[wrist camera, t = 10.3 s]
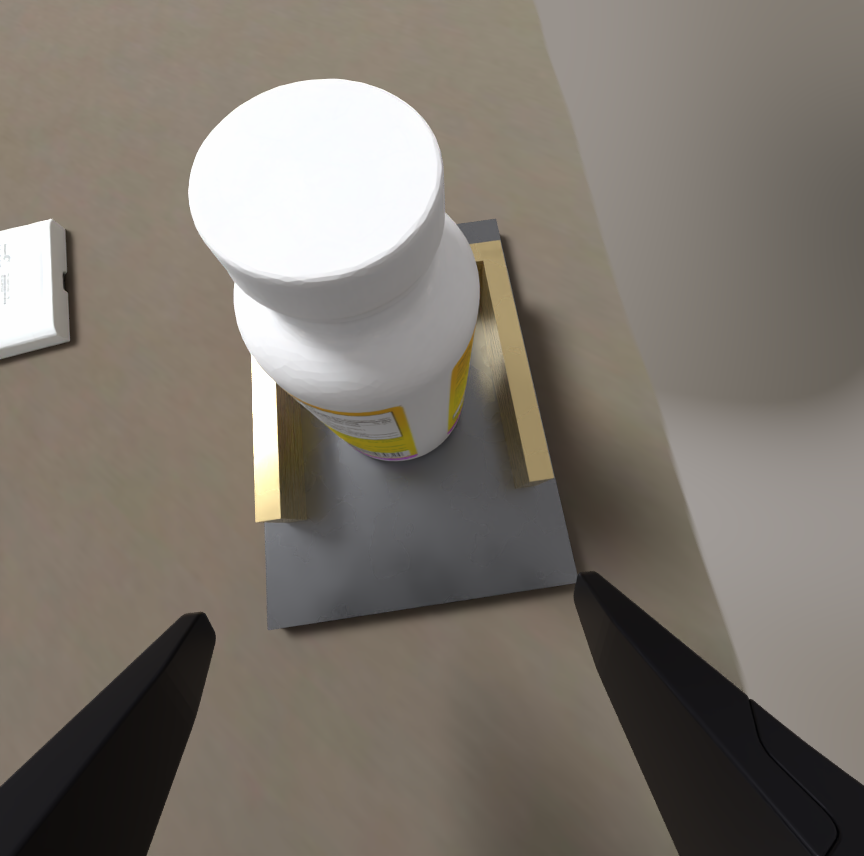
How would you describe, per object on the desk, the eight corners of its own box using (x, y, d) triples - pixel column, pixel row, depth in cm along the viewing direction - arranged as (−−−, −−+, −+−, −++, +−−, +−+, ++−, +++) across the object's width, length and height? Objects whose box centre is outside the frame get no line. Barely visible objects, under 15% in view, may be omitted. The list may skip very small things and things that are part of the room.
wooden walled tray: (571, 579, 18) (608, 594, 14) (277, 624, 18) (231, 652, 14) (493, 231, 23) (504, 171, 19) (264, 263, 23) (228, 208, 19)
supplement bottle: (420, 319, 20) (389, -7, 8) (487, 420, 19) (580, 214, 6) (309, 380, 20) (81, 125, 7) (370, 490, 18) (216, 411, 6)
